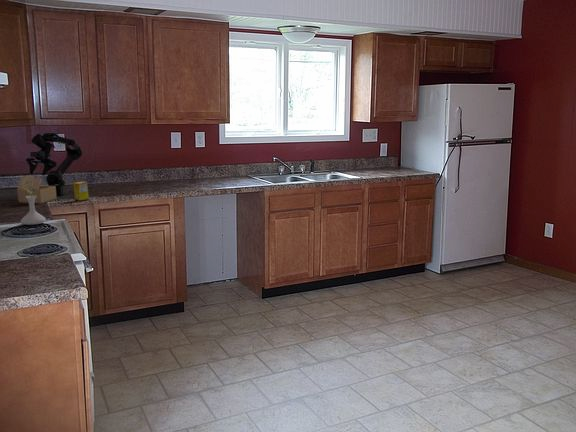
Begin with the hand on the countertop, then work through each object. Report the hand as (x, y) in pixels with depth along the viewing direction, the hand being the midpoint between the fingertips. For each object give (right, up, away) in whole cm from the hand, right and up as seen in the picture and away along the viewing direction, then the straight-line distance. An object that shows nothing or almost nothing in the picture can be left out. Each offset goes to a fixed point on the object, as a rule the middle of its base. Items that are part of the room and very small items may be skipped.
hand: (36, 175), depth 337 cm
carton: (0, -15, +1) cm, 15 cm away
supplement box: (+26, -15, +2) cm, 30 cm away
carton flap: (-1, -5, -6) cm, 8 cm away
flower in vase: (+25, -29, -58) cm, 69 cm away
